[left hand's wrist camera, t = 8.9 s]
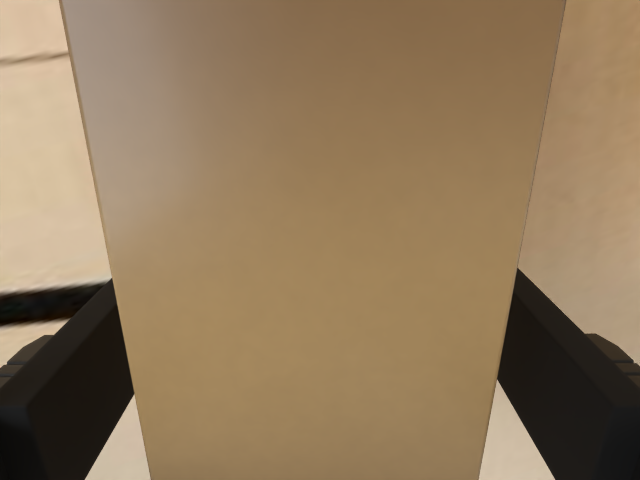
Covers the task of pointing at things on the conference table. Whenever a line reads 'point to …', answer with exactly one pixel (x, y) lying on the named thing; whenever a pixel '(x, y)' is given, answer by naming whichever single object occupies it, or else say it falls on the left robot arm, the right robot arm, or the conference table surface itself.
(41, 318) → the conference table surface
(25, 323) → the conference table surface
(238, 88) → the bar
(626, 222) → the conference table surface
